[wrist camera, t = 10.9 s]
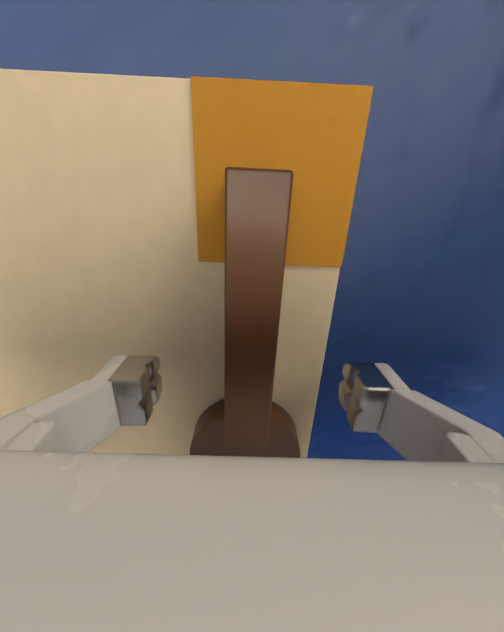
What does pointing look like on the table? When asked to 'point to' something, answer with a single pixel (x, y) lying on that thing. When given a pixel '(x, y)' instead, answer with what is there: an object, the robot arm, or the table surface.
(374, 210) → the table surface
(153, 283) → the placemat
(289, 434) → the brown wooden paddle
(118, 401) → the robot arm
